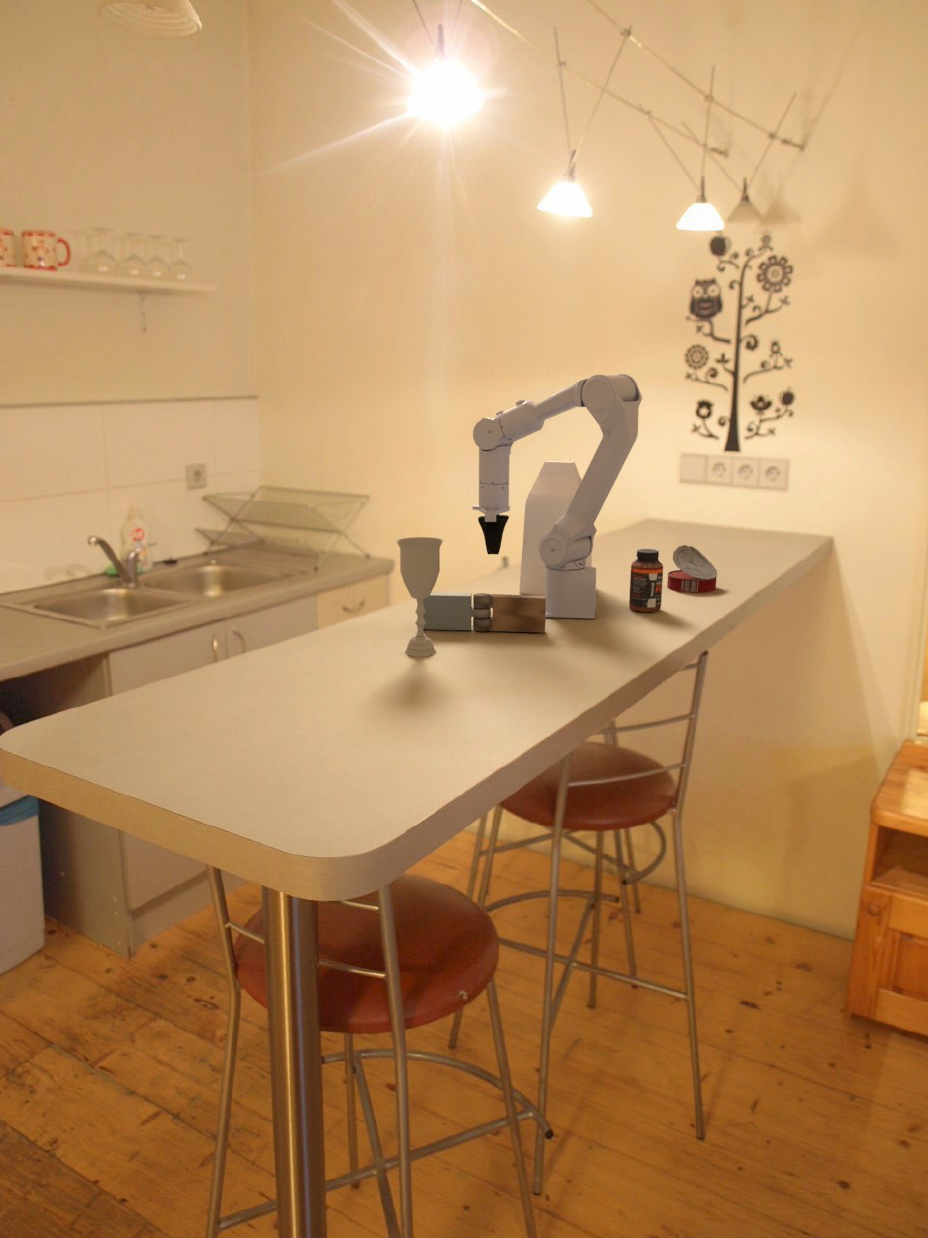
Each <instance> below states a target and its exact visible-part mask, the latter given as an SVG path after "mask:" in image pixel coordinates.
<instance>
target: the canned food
mask: <svg viewBox="0 0 928 1238" xmlns="http://www.w3.org/2000/svg"><path fill="white" fill-rule="evenodd" d="M672 561H673V563H674V565H675V566H676V567H677V568H678V570H671V571H668V573H667V581H666V583H667V585H666V587H667V589H668V590H671V591H673V592H677V593H683V594H709V593H713V592H715V591H717V590H716V589H717V576H718V571H717V569H716V567H715V566H714V565H713V563H712V562H711V561H709V559H708V558H707V557H706V556H705V555H703V554H702V553H701V552H700V551H699V549H697V548H696V547H694V546H692V545H686V544H685V545H684V544H683V545H680V546H677V548H675V550H674V551H673V553H672Z"/></svg>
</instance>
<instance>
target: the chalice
mask: <svg viewBox="0 0 928 1238" xmlns="http://www.w3.org/2000/svg"><path fill="white" fill-rule="evenodd" d="M443 542H444V540H443V539H441V538H437V537H428V536H427V537H423V536H420V537H419V536H417V537H415V536H414V537H404V538H401V539H397V540H396V543H397V545H398V547H399V553H400V555H399V556H400V557H399V558H400V560H399V562H400V563H399V564H400V565H399V566H400V568H399V569H400V575H401V578H402V581H403V583H404V586H405V588H406V589H407V592H408V593H409V595H410V597H411V598H412V599H415V600H416V603H417V606H416V609H415V610H414V612H415V613H416V616H417V618H416V621H414V623H415V625H416V628H417V630H416V631H417V632H416V633H415V636H412V637H411V638H410V639H409V641H408V644H407V647H406V649H405V651H404V654H406V655H408V656H411V657H429V656H433V655H435V654H437V650H436V648H435V645H434V643H433V640H432V639H431V637H430V636H427V635H426V634H425V629H423V628H424V625H425V623H426V622H425V621H424V618H423V616H424V613H425V609H424V606H423V602H424V599H426V598H428V597H429V596H430V594H431V593H433V592H432V591H433V589H434V588H435V586H436V582H437V581H438V578H439V573H440V570H441V568H440V567H441V566H440V560H441V559H440V558H441V557H440V549H441V546H442V543H443Z"/></svg>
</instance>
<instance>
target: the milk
mask: <svg viewBox="0 0 928 1238" xmlns="http://www.w3.org/2000/svg"><path fill="white" fill-rule="evenodd" d="M582 479H583V478H582V477H581V476H580V473H579V470H578V467H577V465H576V462H575V461H560V460H559V461H558V460H557V461H553V460H546V461H545V460H544V462H543V464H542V466H541V469H540V470H539V473H538V475H537V476H536V478H535V481H534V483H533V485H532V486H531V489H530V490H529V493H528V494H527V497H526V500H525V505H524V518H523V534H522V550H521V562H520V563H521V564H520V577H519V590H518V591H519V594H523V595H539V596H545V591H546V568H545V563H544V562H543V560H542V559H541V556H540V553H539V545H540V542H541V540H542V538H543V537H544V536H545V535H547V534H548V533H549V532H550V531H551V530H552V528H553V526H554V524H555V523H556V522H557V521H558V520H559V519H560V518H561V517H563V516H564V515H565V513H566V512H567V510H568V508H569V506H570V504H571V502H572V499H573V497H574V495H575V493H576V491H577V489H578V487H579V485H580V483H581V481H582ZM592 553H593V551H592V552H591V554H590V555H589V556H588V557H587V558H586V567H593V562H592V559H593V557H592V556H593V555H592Z"/></svg>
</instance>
